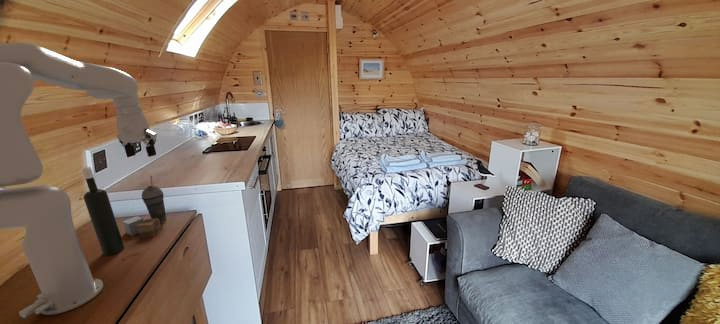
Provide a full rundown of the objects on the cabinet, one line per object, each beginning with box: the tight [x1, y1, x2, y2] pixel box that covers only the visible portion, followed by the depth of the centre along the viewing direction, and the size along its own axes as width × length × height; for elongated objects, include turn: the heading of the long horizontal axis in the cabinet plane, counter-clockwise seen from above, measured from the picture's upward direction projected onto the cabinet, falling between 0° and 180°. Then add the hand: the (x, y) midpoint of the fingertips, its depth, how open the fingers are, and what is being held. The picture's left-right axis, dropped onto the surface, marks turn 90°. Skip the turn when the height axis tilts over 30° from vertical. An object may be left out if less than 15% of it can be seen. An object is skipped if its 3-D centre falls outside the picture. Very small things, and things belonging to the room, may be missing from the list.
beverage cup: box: [141, 175, 167, 224], centre depth 119 cm, size 7×7×20 cm
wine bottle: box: [81, 166, 125, 257], centre depth 97 cm, size 6×6×30 cm
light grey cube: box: [122, 216, 145, 236], centre depth 114 cm, size 5×5×5 cm
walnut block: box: [137, 218, 163, 238], centre depth 111 cm, size 5×5×5 cm
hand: (141, 155), depth 114 cm, fingers open, 9 cm apart
